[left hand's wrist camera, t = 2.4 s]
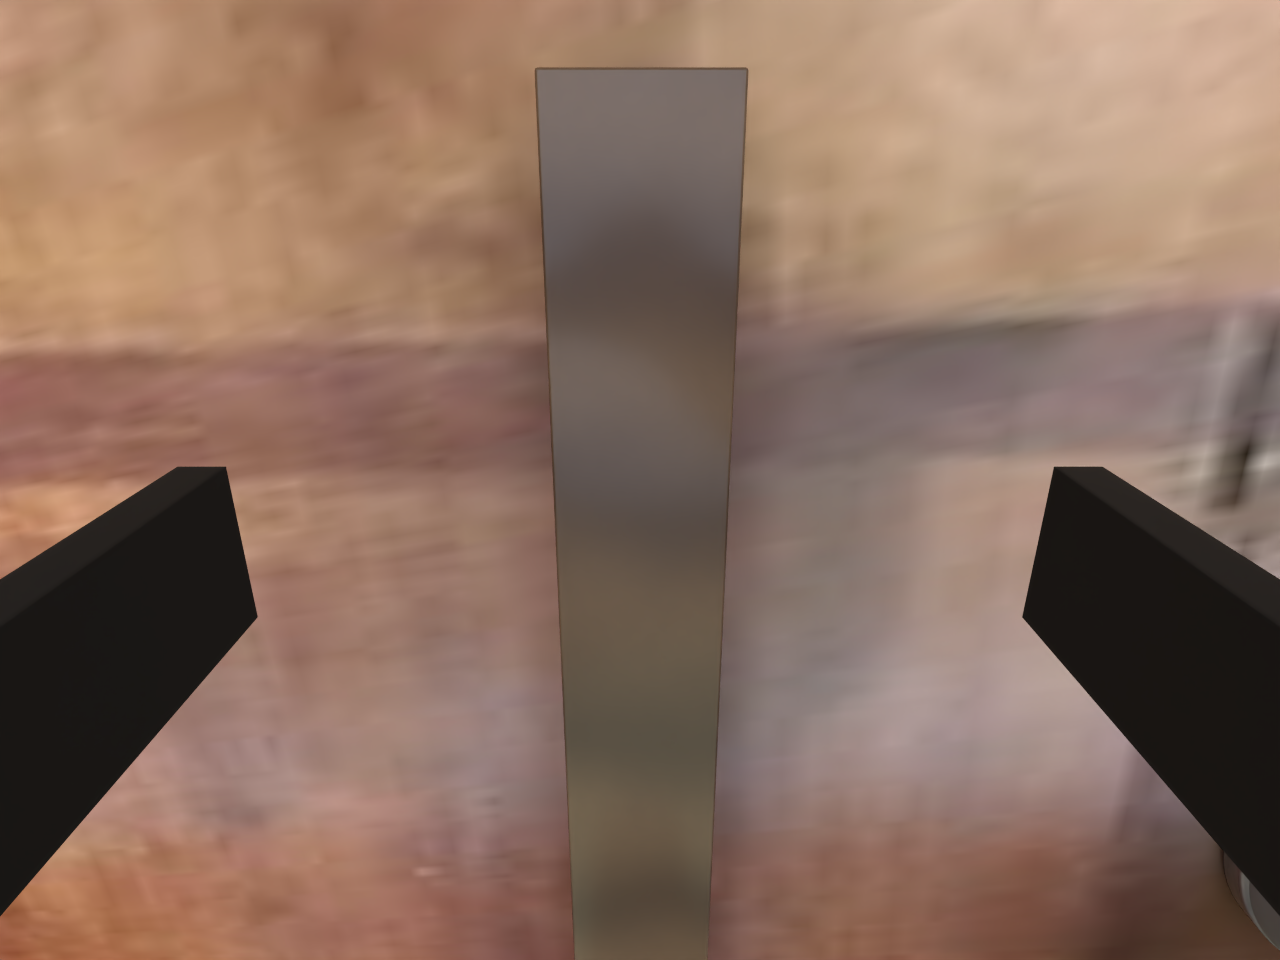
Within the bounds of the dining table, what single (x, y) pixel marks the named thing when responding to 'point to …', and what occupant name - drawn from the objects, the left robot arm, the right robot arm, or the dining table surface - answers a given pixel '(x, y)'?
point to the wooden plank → (641, 479)
